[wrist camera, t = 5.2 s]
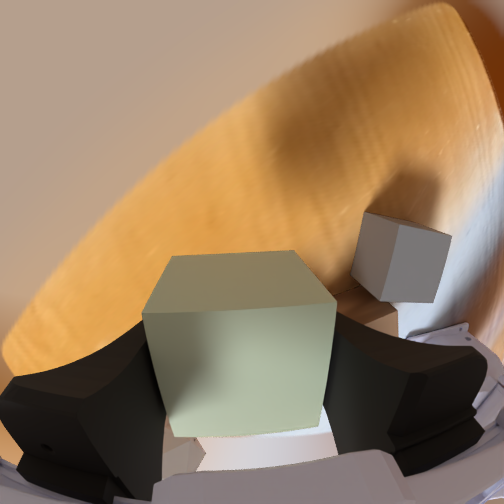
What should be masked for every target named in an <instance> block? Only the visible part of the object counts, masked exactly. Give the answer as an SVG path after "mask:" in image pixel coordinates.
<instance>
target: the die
mask: <svg viewBox="0 0 504 504" xmlns="http://www.w3.org/2000/svg"><path fill="white" fill-rule="evenodd" d="M205 454H206V452H205V451H204V449H203V448H202V446H201V445H200V443H199V441H198V440H197V438H196V437H174V434H173V431H172V428H171V425H170V422H169V419H168V416H167V415H166V421H165V427H164V440H163V457H162V480H164V479H166V478H168V477H170V476H172V475H174V474H177V473H189V472H196V470H197V468H198V467H199V465H200V463H201V461H202V460H203V458H204V456H205Z"/></svg>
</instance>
